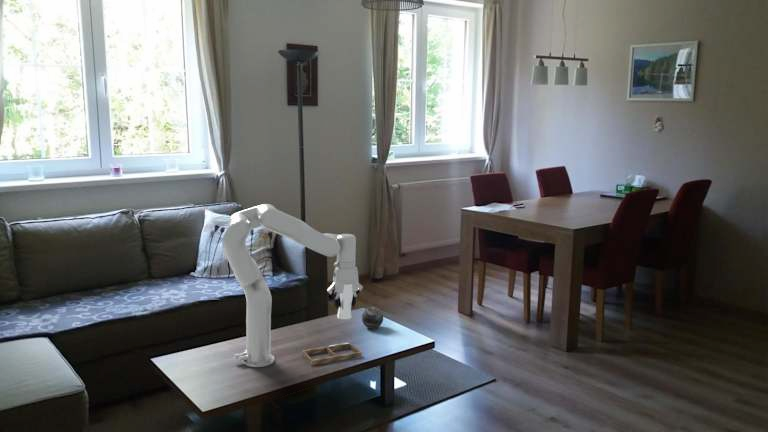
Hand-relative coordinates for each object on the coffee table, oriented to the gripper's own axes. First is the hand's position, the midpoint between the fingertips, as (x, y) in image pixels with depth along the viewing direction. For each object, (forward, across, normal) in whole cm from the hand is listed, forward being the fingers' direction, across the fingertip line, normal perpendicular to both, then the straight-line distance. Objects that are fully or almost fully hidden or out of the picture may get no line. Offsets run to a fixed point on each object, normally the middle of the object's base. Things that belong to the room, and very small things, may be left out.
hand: (344, 306), depth 255 cm
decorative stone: (+21, +25, +22) cm, 40 cm away
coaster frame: (+21, -5, 0) cm, 22 cm away
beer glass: (+5, 0, 0) cm, 5 cm away
